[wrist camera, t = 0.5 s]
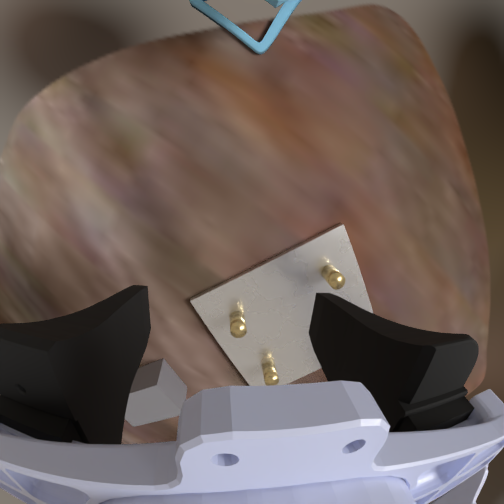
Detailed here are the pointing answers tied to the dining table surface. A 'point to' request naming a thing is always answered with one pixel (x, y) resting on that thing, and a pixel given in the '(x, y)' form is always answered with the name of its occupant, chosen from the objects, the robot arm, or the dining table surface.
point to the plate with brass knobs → (281, 307)
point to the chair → (259, 48)
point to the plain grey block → (155, 394)
